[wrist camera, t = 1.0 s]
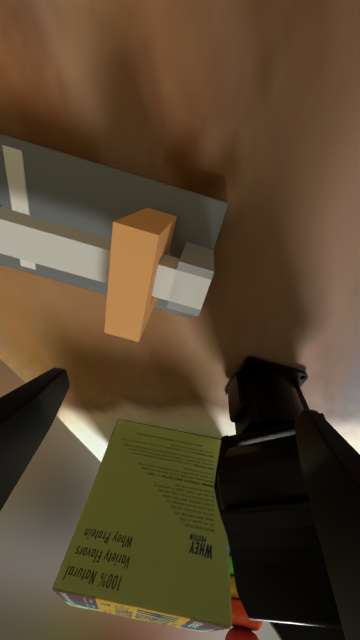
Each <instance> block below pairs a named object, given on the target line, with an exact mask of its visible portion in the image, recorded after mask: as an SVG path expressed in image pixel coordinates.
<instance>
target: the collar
mask: <svg viewBox="0 0 360 640" xmlns="http://www.w3.org/2000/svg"><path fill="white" fill-rule="evenodd" d="M176 219H177V216H174V215H171V214H167V213H164V212H161V211H157V210H154V209H151V208H145V209H143V210H140V211H138V212H135V213H133V214H131V215H128V216H126V217H123V218H121V219H119V220H116V221H114V222H113V228H112V240H111V253H110V266H109V279H108V292H107V305H106V318H105V330H104V333H107V334H111V335H115V336H118V337H122V338H126V339H129V340H133V341H136V342H139V340H140V338H141V336H142V333H143V331H144V329H145V327H146V324H147V322H148V320H149V318H150V315H151V313H152V311H153V309H154V306H155V304H156V302H157V300H158V298H157V297H153V296H152V292H153V287H154V283H155V278H156V273H157V268H158V263H159V259H160V258H161V256H162V255H163V254H165V255H168V254H169V250H170V245H171V241H172V237H173V232H174V228H175V223H176Z"/></svg>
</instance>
